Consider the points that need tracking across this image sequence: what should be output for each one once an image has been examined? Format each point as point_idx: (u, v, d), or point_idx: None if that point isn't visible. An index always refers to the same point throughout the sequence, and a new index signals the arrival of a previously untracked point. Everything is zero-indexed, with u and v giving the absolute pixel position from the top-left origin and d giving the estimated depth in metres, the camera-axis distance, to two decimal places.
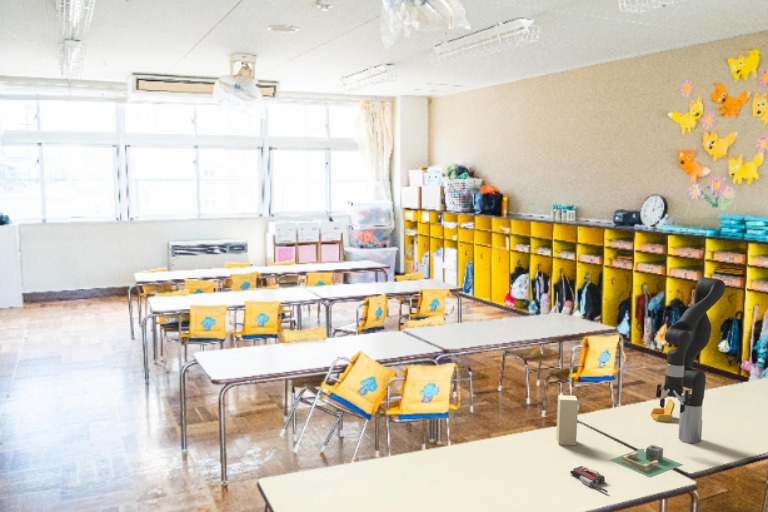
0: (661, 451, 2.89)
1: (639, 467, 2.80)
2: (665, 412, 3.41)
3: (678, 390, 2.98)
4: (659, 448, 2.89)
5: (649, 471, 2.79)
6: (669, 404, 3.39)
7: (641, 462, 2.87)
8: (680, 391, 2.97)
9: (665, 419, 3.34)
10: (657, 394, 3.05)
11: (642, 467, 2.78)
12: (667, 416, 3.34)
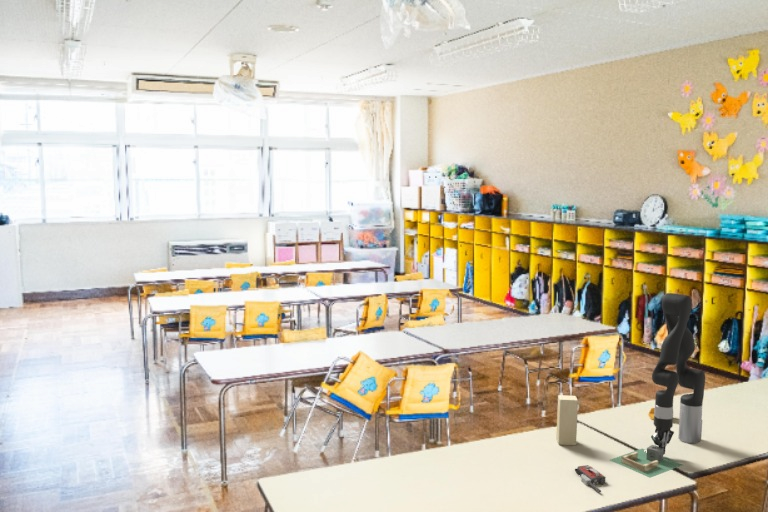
0: (661, 451, 2.89)
1: (639, 467, 2.80)
2: None
3: (669, 428, 2.92)
4: (659, 448, 2.89)
5: (649, 471, 2.79)
6: None
7: (641, 462, 2.87)
8: (669, 430, 2.92)
9: None
10: (660, 444, 2.90)
11: (642, 467, 2.78)
12: None
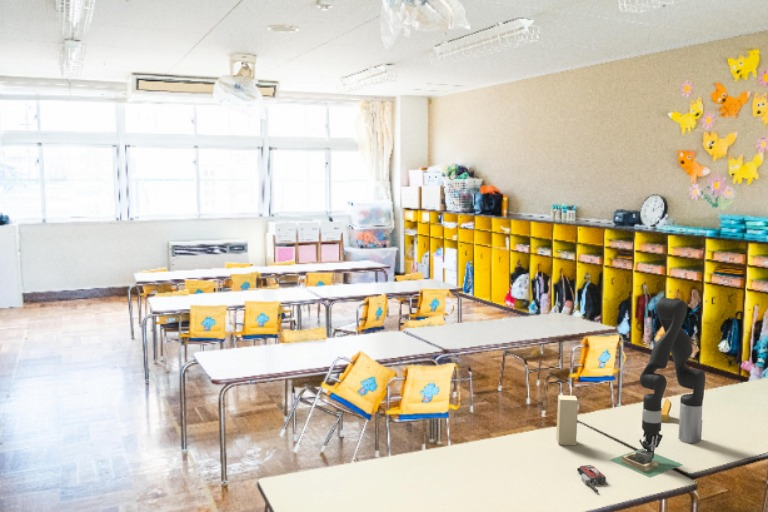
0: (651, 455, 2.85)
1: (639, 467, 2.80)
2: (662, 412, 3.41)
3: (657, 432, 2.88)
4: (648, 452, 2.85)
5: (649, 471, 2.79)
6: (666, 404, 3.39)
7: None
8: (658, 434, 2.88)
9: (662, 419, 3.35)
10: (648, 448, 2.85)
11: (642, 467, 2.78)
12: (664, 416, 3.34)
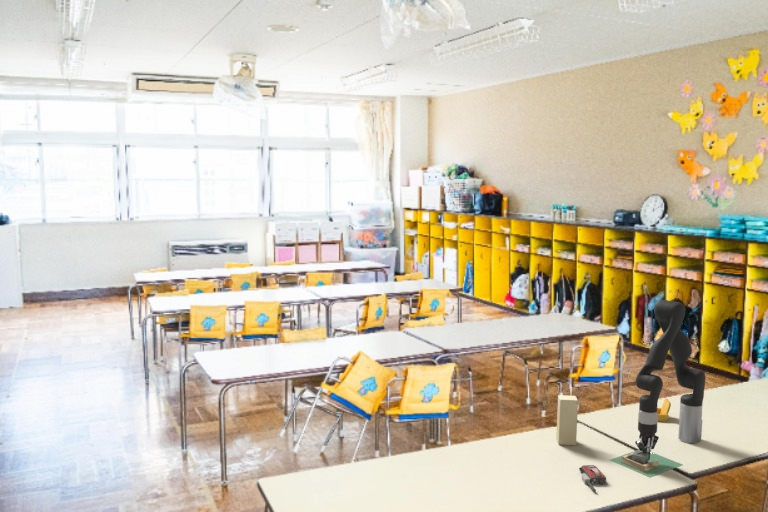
0: (647, 457, 2.83)
1: (639, 467, 2.80)
2: (661, 412, 3.41)
3: (653, 434, 2.87)
4: (645, 454, 2.84)
5: (649, 471, 2.79)
6: (665, 404, 3.39)
7: None
8: (654, 435, 2.87)
9: (661, 419, 3.35)
10: (644, 449, 2.84)
11: (642, 467, 2.78)
12: (663, 416, 3.34)
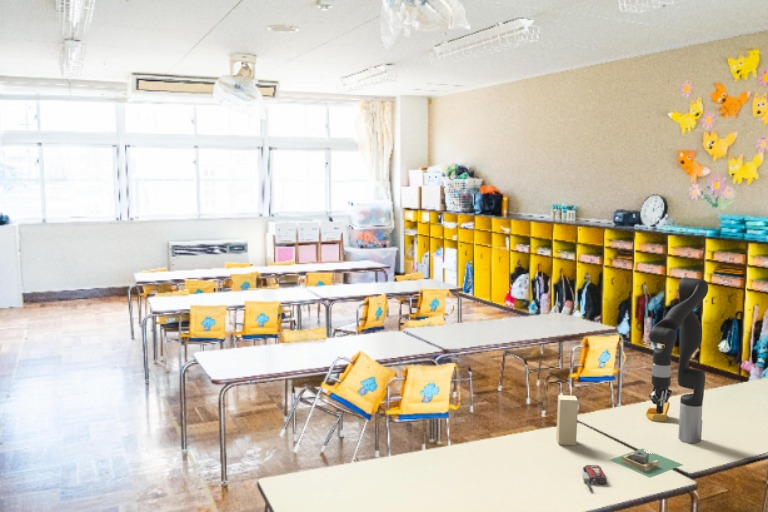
0: (647, 457, 2.83)
1: (639, 467, 2.80)
2: None
3: (667, 387, 2.89)
4: (645, 454, 2.83)
5: (649, 471, 2.79)
6: (664, 404, 3.39)
7: None
8: (667, 389, 2.90)
9: (660, 419, 3.35)
10: (658, 402, 2.87)
11: (642, 467, 2.78)
12: (662, 416, 3.35)
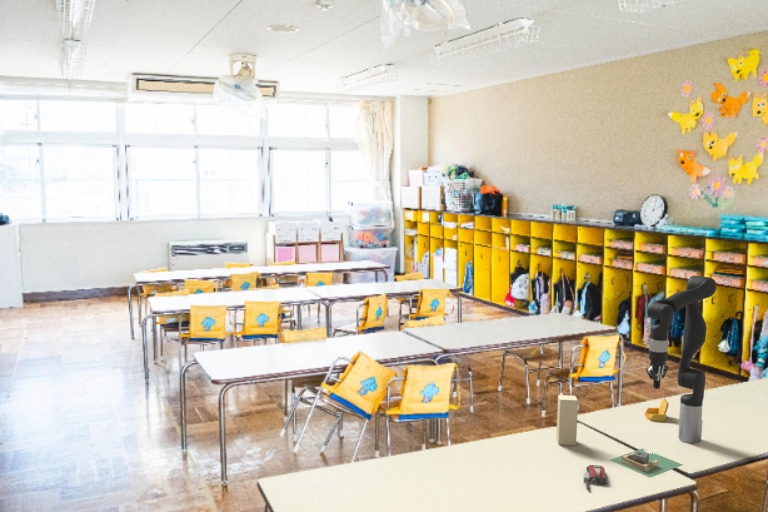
0: (647, 457, 2.83)
1: (639, 467, 2.80)
2: (659, 412, 3.42)
3: (664, 363, 2.94)
4: (645, 454, 2.83)
5: (649, 471, 2.79)
6: (663, 404, 3.39)
7: None
8: (664, 364, 2.94)
9: (659, 419, 3.35)
10: (655, 377, 2.91)
11: (642, 467, 2.78)
12: (661, 416, 3.35)
